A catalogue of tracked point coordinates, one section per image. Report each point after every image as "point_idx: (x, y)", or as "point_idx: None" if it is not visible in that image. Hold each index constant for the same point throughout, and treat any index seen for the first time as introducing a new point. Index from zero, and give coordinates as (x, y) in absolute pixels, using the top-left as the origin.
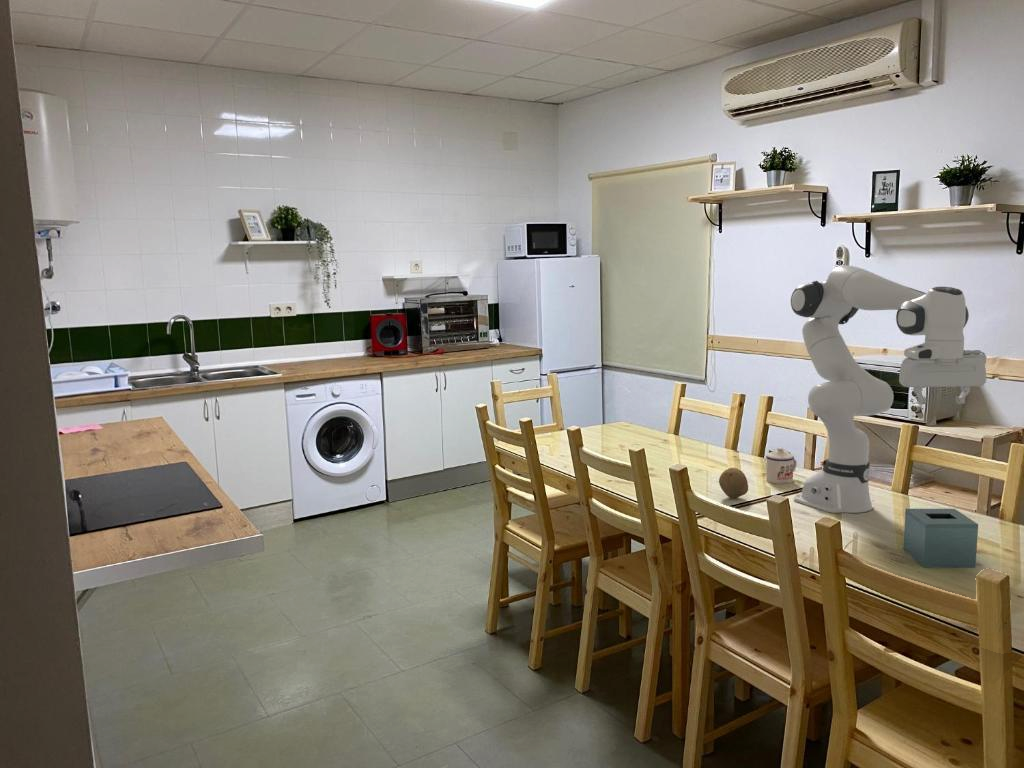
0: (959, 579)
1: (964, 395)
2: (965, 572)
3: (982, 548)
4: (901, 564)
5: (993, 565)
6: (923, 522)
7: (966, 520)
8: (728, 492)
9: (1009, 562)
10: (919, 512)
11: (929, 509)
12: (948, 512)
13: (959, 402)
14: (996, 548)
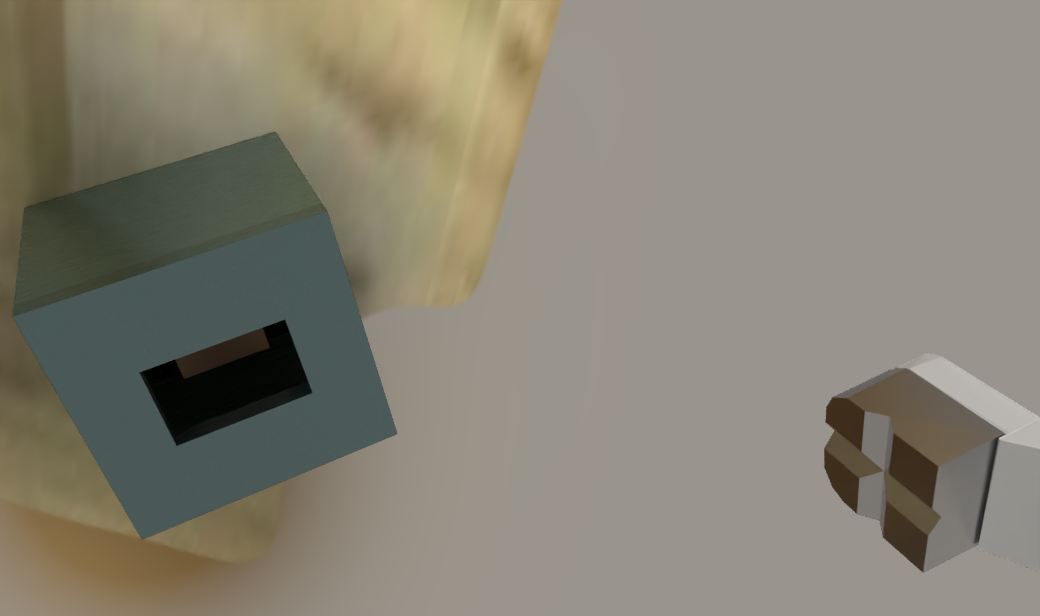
0: None
1: (1031, 563)
2: None
3: (418, 64)
4: (26, 409)
5: (413, 271)
6: (129, 517)
7: (354, 400)
8: None
9: (481, 214)
10: (108, 365)
11: (173, 281)
12: (281, 300)
13: (851, 496)
14: (478, 45)
